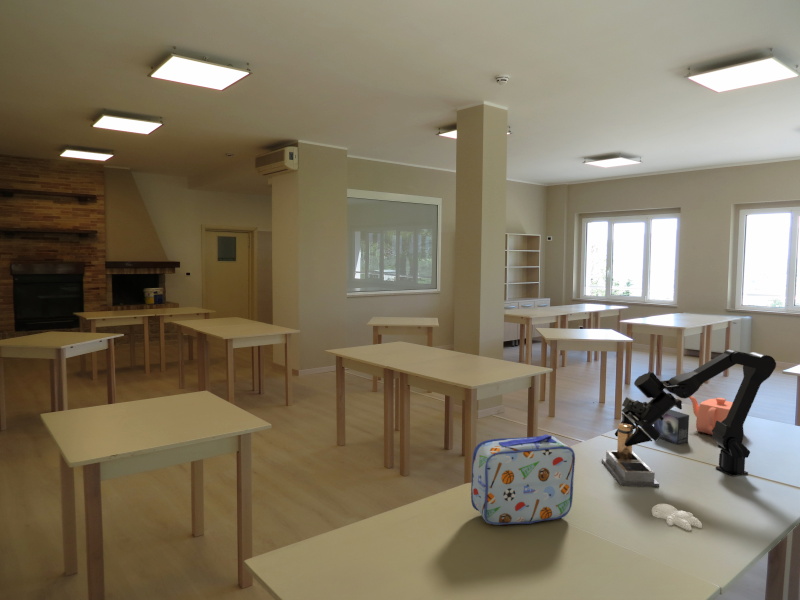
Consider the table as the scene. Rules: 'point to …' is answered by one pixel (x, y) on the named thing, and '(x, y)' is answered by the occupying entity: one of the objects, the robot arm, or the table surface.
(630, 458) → the copper tube
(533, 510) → the lunch box
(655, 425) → the small box
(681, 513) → the astronaut figurine
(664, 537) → the table surface
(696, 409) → the teapot
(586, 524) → the table surface
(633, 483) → the grey two-compartment tray
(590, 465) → the table surface
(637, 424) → the robot arm
